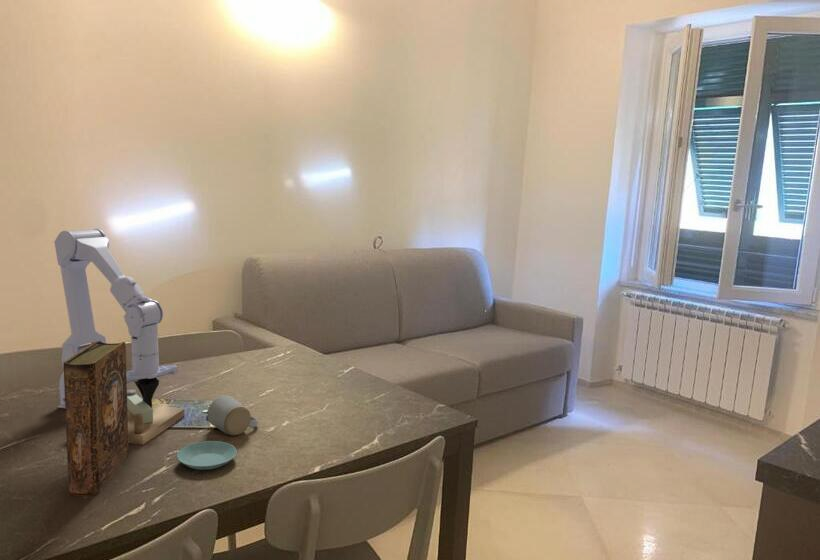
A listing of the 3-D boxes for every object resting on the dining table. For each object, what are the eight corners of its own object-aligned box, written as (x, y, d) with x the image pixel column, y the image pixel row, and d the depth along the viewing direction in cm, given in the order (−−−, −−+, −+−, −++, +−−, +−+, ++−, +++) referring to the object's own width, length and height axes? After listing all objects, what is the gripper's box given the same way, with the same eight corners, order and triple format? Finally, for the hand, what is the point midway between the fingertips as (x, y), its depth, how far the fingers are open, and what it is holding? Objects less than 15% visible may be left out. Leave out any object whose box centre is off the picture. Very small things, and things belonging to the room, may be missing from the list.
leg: (121, 404, 154) (121, 391, 153) (134, 402, 156) (134, 388, 155) (141, 424, 143) (140, 409, 142) (154, 421, 145) (154, 406, 144)
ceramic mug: (224, 441, 141) (225, 408, 140) (206, 429, 147) (206, 398, 146) (265, 429, 149) (266, 398, 148) (246, 419, 155) (246, 389, 153)
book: (96, 496, 116) (92, 365, 111) (65, 496, 115) (60, 364, 111) (128, 456, 132) (125, 340, 128) (101, 456, 131) (97, 340, 127)
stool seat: (74, 435, 140) (73, 409, 139) (121, 408, 157) (121, 385, 156) (143, 444, 137) (142, 418, 136) (184, 416, 154) (184, 393, 153)
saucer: (246, 455, 136) (246, 445, 135) (218, 480, 124) (218, 469, 124) (197, 447, 138) (197, 437, 138) (165, 471, 127) (165, 460, 126)
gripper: (119, 362, 139) (122, 421, 141) (182, 351, 149) (184, 406, 151) (107, 355, 144) (110, 412, 146) (169, 345, 154) (171, 398, 156)
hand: (147, 408), depth 149 cm, fingers closed, pressing on leg
